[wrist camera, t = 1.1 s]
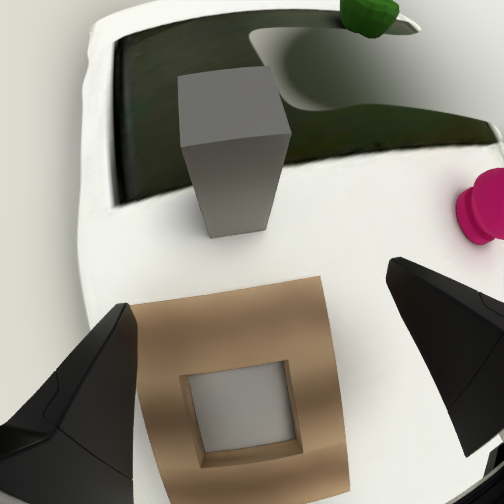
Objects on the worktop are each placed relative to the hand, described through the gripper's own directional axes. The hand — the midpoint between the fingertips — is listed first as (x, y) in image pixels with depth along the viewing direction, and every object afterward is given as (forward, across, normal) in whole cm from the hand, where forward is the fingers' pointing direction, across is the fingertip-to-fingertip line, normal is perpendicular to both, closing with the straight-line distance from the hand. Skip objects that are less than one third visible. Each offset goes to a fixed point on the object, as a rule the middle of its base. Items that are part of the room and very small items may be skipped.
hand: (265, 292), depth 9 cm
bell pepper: (+35, -23, -16) cm, 45 cm away
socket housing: (+4, +2, +15) cm, 16 cm away
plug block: (+15, 0, +4) cm, 16 cm away
